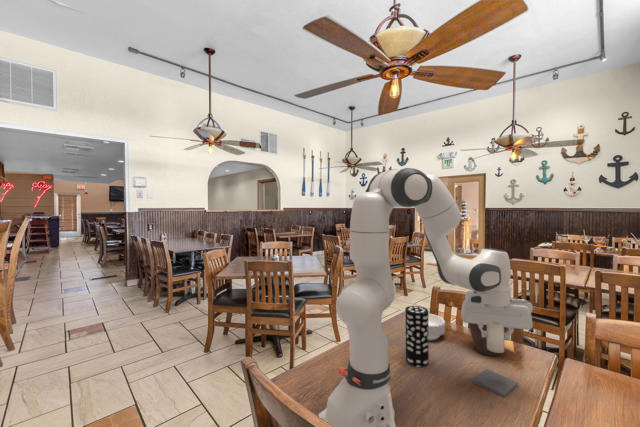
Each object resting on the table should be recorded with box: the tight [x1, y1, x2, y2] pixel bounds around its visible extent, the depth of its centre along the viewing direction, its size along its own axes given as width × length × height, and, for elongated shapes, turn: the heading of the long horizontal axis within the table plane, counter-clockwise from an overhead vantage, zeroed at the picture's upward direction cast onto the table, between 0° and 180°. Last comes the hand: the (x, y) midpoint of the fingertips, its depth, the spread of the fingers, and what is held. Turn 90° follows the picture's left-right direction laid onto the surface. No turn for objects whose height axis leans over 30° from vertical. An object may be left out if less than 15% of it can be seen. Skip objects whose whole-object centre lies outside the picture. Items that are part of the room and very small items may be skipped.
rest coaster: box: [471, 368, 519, 398], centre depth 98 cm, size 10×10×1 cm
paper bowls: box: [428, 312, 446, 341], centre depth 134 cm, size 15×15×8 cm
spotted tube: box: [404, 305, 430, 368], centre depth 112 cm, size 8×8×20 cm
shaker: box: [487, 322, 505, 354], centre depth 97 cm, size 5×5×10 cm
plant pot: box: [468, 323, 508, 357], centre depth 119 cm, size 15×15×16 cm
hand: (495, 338), depth 97 cm, fingers closed on shaker, 5 cm apart
